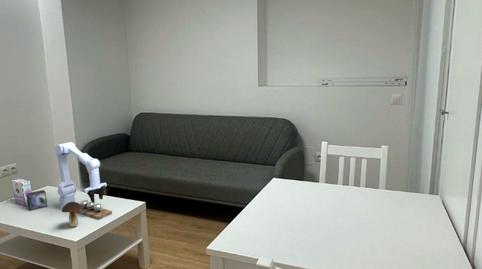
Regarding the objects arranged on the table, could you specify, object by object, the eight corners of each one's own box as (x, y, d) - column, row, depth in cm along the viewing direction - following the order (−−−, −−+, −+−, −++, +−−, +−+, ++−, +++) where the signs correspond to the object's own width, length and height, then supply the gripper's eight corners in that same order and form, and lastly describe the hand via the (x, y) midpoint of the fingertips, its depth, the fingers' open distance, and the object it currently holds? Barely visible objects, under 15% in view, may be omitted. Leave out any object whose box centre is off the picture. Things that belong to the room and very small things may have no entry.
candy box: (34, 203, 241) (30, 180, 238) (25, 206, 236) (21, 183, 233) (23, 200, 248) (20, 177, 245) (14, 203, 243) (11, 180, 240)
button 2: (92, 211, 216) (92, 205, 216) (98, 209, 220) (98, 203, 219) (97, 213, 214) (96, 206, 213) (103, 210, 218) (102, 204, 217)
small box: (29, 211, 227) (27, 195, 226) (27, 208, 232) (25, 193, 230) (47, 206, 234) (45, 191, 232) (45, 204, 239) (43, 189, 237)
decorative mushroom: (59, 229, 199) (56, 204, 196) (75, 221, 209) (72, 197, 206) (73, 232, 195) (70, 206, 192) (89, 224, 204) (86, 199, 202)
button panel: (72, 212, 223) (71, 209, 223) (86, 206, 232) (85, 203, 231) (98, 219, 210) (98, 216, 210) (112, 214, 218) (111, 210, 218)
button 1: (79, 208, 223) (79, 201, 222) (86, 205, 227) (85, 199, 226) (84, 209, 221) (83, 203, 220) (90, 207, 225) (89, 200, 224)
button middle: (86, 210, 220) (85, 203, 219) (92, 207, 223) (91, 201, 223) (90, 211, 217) (89, 204, 217) (96, 208, 221) (96, 202, 220)
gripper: (88, 183, 205) (90, 205, 208) (109, 176, 217) (111, 197, 220) (80, 181, 209) (83, 203, 211) (101, 175, 221) (103, 196, 223)
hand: (97, 200), depth 216 cm, fingers open, 5 cm apart
